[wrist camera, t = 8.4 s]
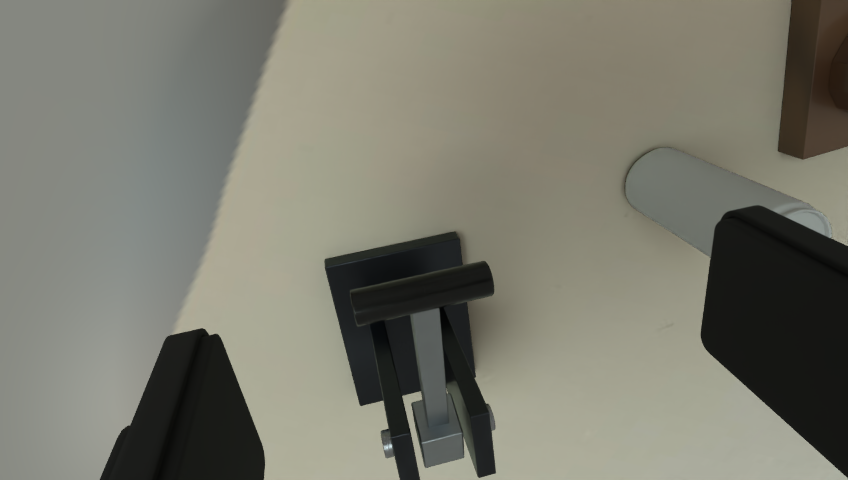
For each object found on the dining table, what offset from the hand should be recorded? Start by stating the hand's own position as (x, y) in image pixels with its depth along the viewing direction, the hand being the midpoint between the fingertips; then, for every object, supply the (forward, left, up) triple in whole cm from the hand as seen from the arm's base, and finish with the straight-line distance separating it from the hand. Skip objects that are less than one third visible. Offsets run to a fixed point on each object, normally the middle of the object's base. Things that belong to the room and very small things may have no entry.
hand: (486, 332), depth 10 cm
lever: (+7, +8, -13) cm, 16 cm away
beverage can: (-9, +19, -24) cm, 32 cm away
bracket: (+10, +12, -24) cm, 28 cm away
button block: (-23, +24, -24) cm, 41 cm away
